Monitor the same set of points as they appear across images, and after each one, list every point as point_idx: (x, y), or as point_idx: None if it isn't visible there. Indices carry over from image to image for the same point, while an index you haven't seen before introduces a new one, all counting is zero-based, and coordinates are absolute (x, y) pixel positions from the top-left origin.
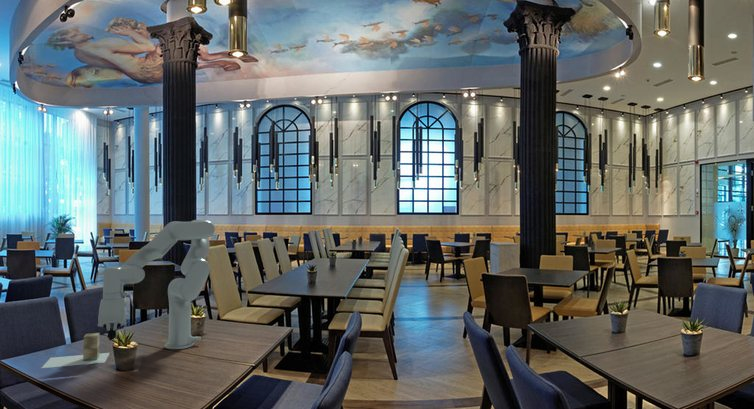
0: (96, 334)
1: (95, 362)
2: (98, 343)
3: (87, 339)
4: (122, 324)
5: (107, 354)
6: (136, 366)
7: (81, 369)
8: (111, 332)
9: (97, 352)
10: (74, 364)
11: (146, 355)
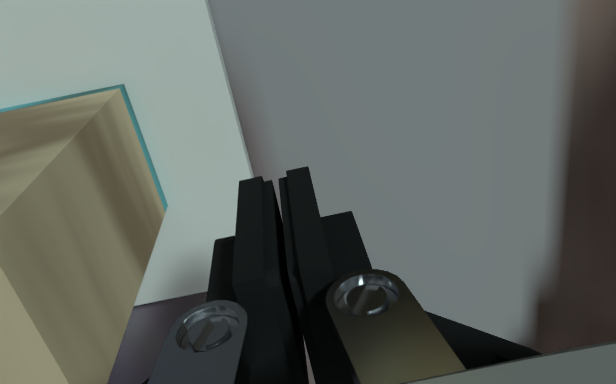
0: (4, 347)
1: (192, 273)
2: (98, 228)
3: None
4: None
5: (188, 10)
6: (532, 314)
7: (137, 347)
8: (300, 343)
9: (147, 228)
10: None
11: (613, 11)
